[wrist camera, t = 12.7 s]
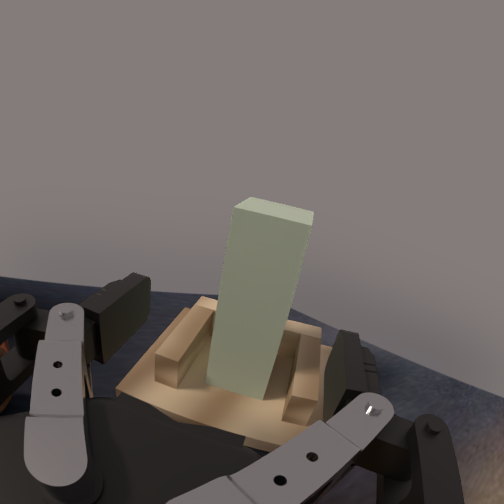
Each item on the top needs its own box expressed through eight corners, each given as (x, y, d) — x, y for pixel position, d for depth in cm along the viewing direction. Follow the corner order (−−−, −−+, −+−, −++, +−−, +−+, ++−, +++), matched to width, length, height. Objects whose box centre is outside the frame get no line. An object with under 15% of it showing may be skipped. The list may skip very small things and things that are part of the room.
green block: (205, 383, 20) (233, 206, 16) (222, 351, 23) (250, 196, 19) (262, 400, 19) (311, 225, 15) (272, 365, 23) (313, 211, 19)
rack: (116, 398, 17) (112, 359, 16) (184, 316, 29) (187, 283, 27) (326, 462, 16) (348, 431, 14) (330, 356, 27) (342, 324, 26)
